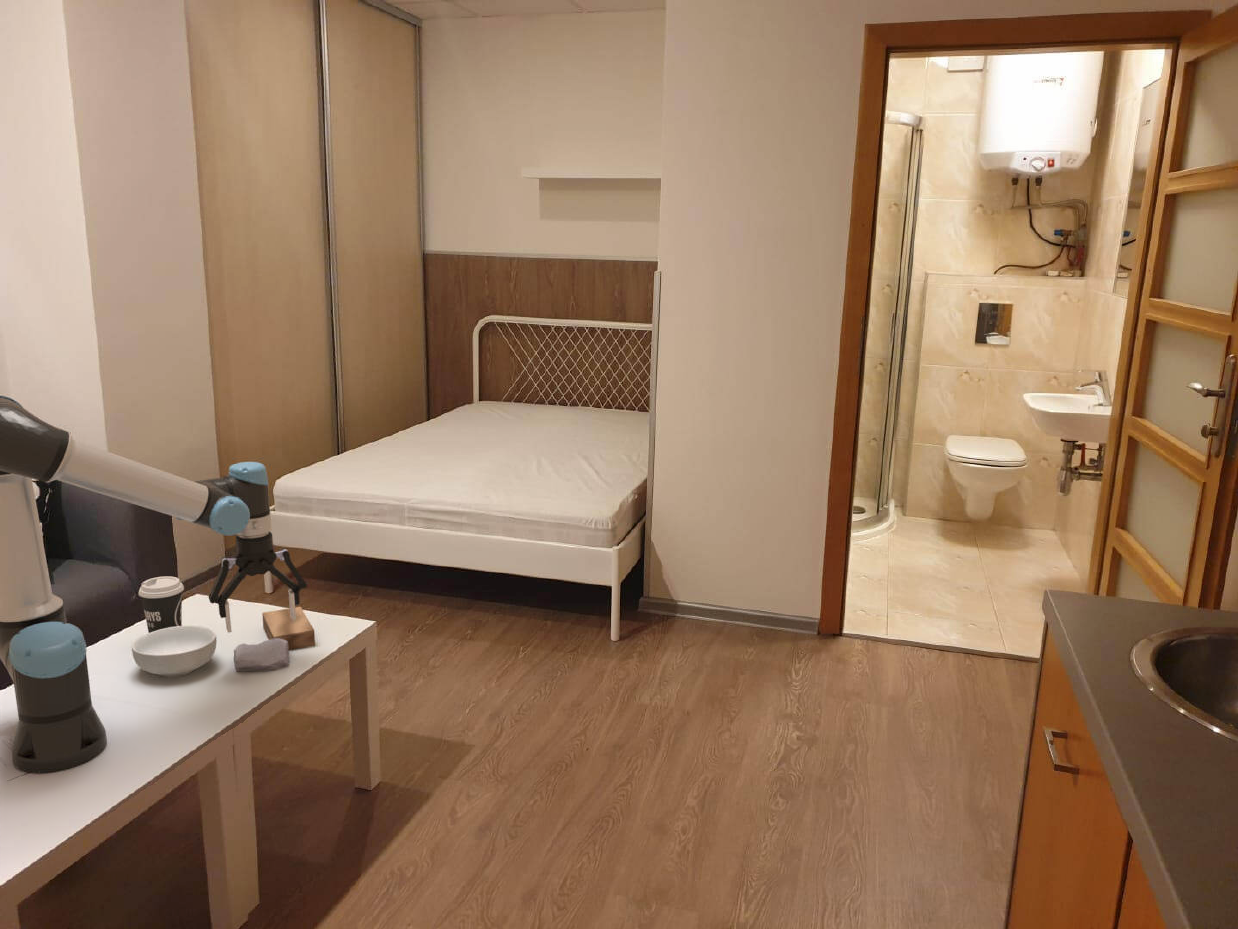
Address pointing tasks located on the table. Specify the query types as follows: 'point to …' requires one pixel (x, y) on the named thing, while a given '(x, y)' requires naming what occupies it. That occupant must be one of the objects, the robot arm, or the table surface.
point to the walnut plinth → (289, 628)
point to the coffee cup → (162, 602)
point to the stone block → (262, 656)
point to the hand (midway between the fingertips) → (261, 624)
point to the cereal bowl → (174, 650)
